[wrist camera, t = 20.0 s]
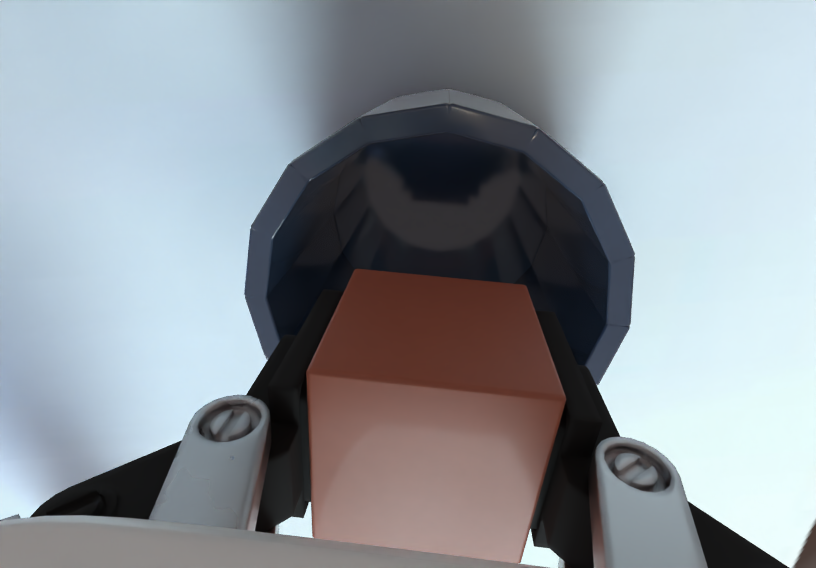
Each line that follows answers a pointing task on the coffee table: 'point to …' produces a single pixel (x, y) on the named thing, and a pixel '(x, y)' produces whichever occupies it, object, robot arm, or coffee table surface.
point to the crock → (445, 219)
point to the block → (431, 416)
